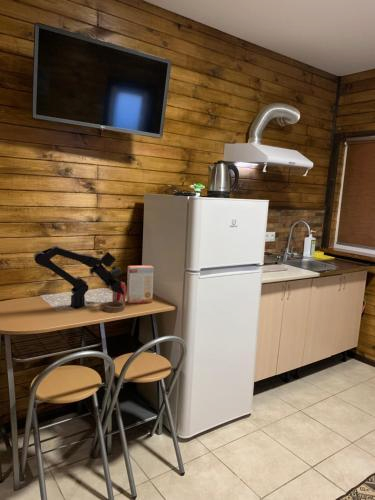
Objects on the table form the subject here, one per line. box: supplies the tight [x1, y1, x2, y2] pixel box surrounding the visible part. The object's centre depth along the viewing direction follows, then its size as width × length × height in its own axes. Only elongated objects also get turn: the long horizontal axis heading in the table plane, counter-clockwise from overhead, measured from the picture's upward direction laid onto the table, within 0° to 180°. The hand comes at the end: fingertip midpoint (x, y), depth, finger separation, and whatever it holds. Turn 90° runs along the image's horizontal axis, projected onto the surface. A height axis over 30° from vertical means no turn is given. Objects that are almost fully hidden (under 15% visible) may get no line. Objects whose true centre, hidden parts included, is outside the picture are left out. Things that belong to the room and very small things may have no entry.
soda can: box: [112, 281, 127, 304], centre depth 214 cm, size 7×7×12 cm
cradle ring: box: [102, 300, 126, 313], centre depth 204 cm, size 11×11×2 cm
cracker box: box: [126, 265, 155, 304], centre depth 220 cm, size 14×6×21 cm, turn 111°
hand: (121, 291), depth 215 cm, fingers open, 9 cm apart
